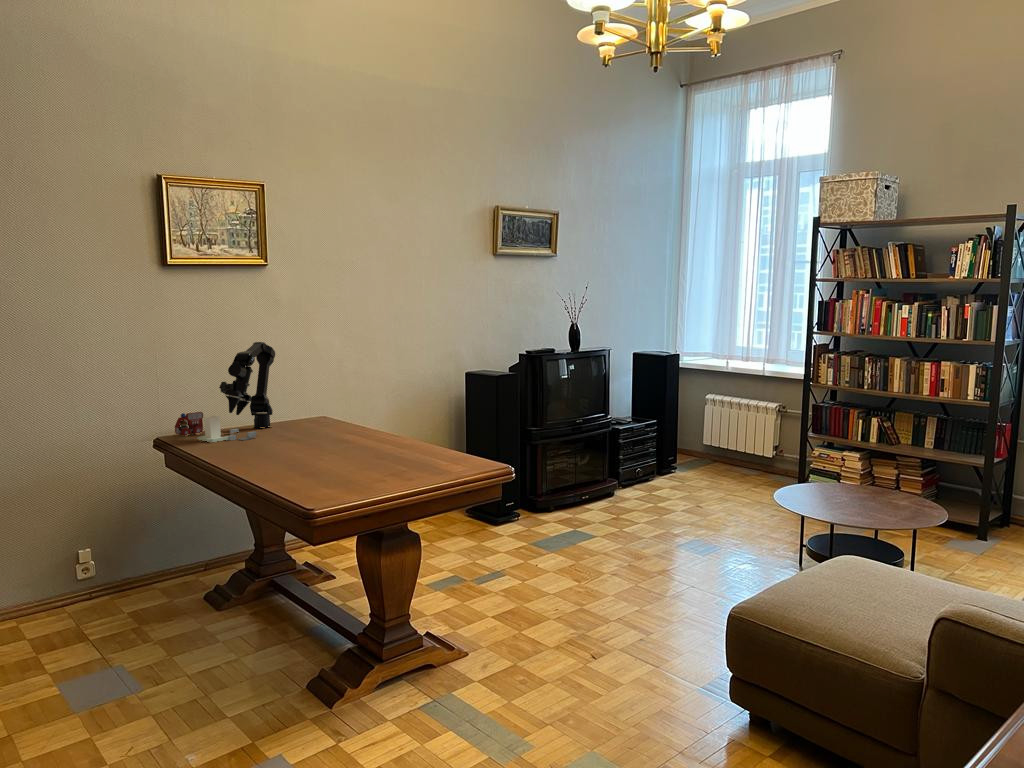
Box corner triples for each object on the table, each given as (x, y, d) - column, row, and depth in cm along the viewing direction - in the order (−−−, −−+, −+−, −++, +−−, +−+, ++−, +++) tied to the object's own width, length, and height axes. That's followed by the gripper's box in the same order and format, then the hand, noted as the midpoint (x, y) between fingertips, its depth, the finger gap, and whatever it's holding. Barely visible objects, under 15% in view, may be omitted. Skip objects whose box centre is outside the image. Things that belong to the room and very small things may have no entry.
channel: (231, 431, 348) (230, 427, 348) (263, 437, 333) (263, 432, 333) (205, 436, 338) (204, 431, 338) (237, 441, 323) (236, 437, 322)
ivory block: (215, 438, 331) (213, 415, 330) (221, 439, 328) (219, 416, 327) (205, 439, 327) (204, 417, 326) (211, 440, 325) (209, 417, 323)
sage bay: (215, 437, 335) (215, 434, 334) (229, 439, 328) (229, 436, 328) (196, 440, 328) (196, 437, 327) (210, 443, 321) (210, 439, 321)
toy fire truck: (173, 436, 341) (171, 413, 340) (201, 432, 349) (200, 410, 348) (177, 437, 336) (176, 414, 335) (206, 434, 343) (204, 411, 342)
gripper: (231, 379, 346) (223, 412, 344) (217, 373, 328) (208, 408, 325) (255, 384, 346) (247, 417, 344) (242, 378, 328) (233, 413, 325)
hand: (233, 414), depth 335 cm, fingers open, 9 cm apart
